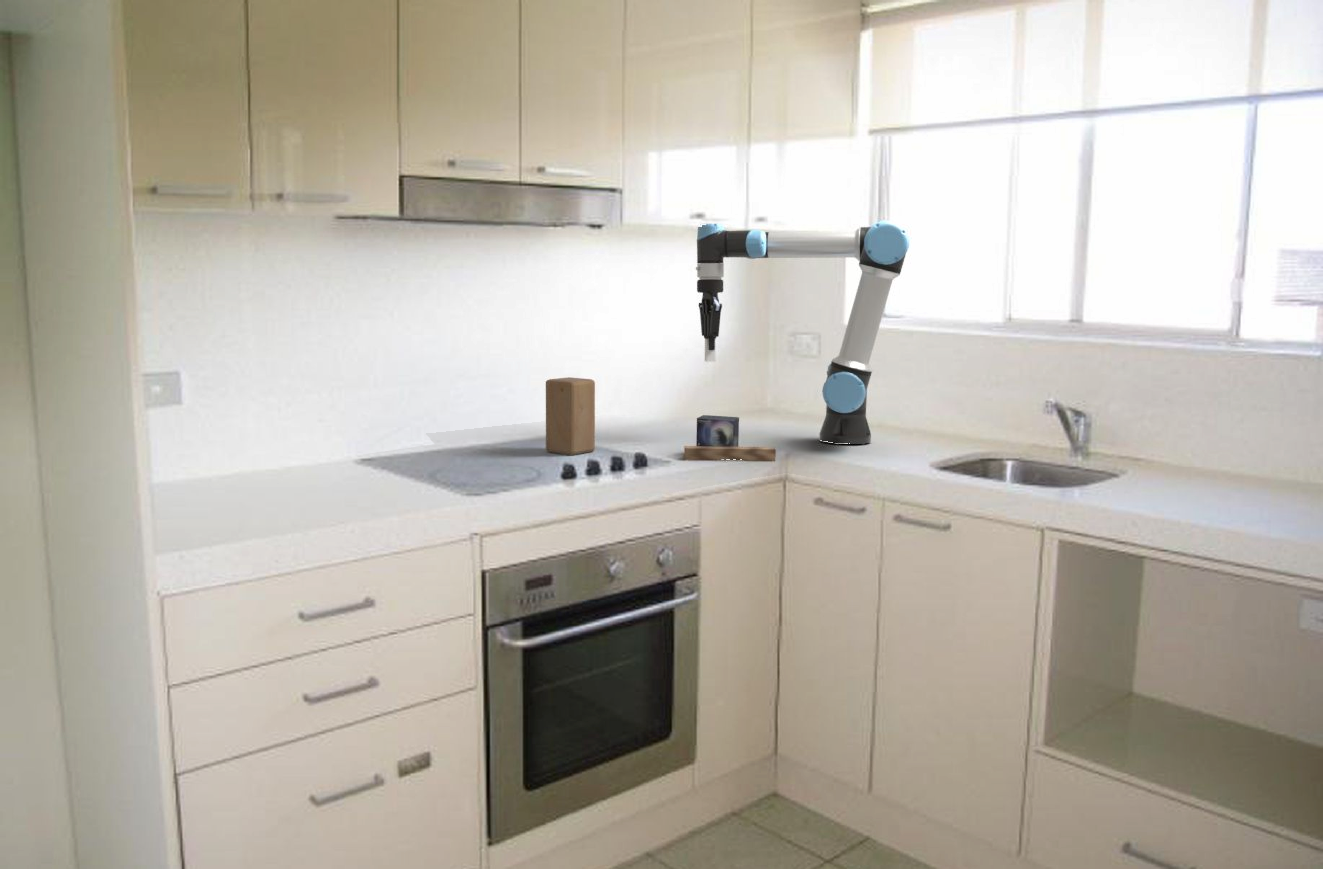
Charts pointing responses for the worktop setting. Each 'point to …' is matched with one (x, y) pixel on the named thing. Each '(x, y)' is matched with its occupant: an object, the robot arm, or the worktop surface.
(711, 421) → the small box
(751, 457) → the long brown wooden bar
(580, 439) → the wooden block
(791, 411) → the worktop surface
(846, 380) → the robot arm
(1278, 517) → the worktop surface
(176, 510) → the worktop surface
